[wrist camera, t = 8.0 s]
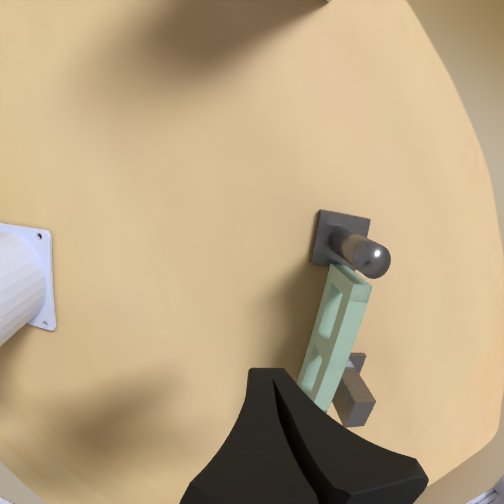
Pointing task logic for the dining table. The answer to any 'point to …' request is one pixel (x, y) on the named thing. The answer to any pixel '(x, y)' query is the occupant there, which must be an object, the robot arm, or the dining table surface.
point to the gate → (333, 334)
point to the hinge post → (348, 244)
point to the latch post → (353, 394)
